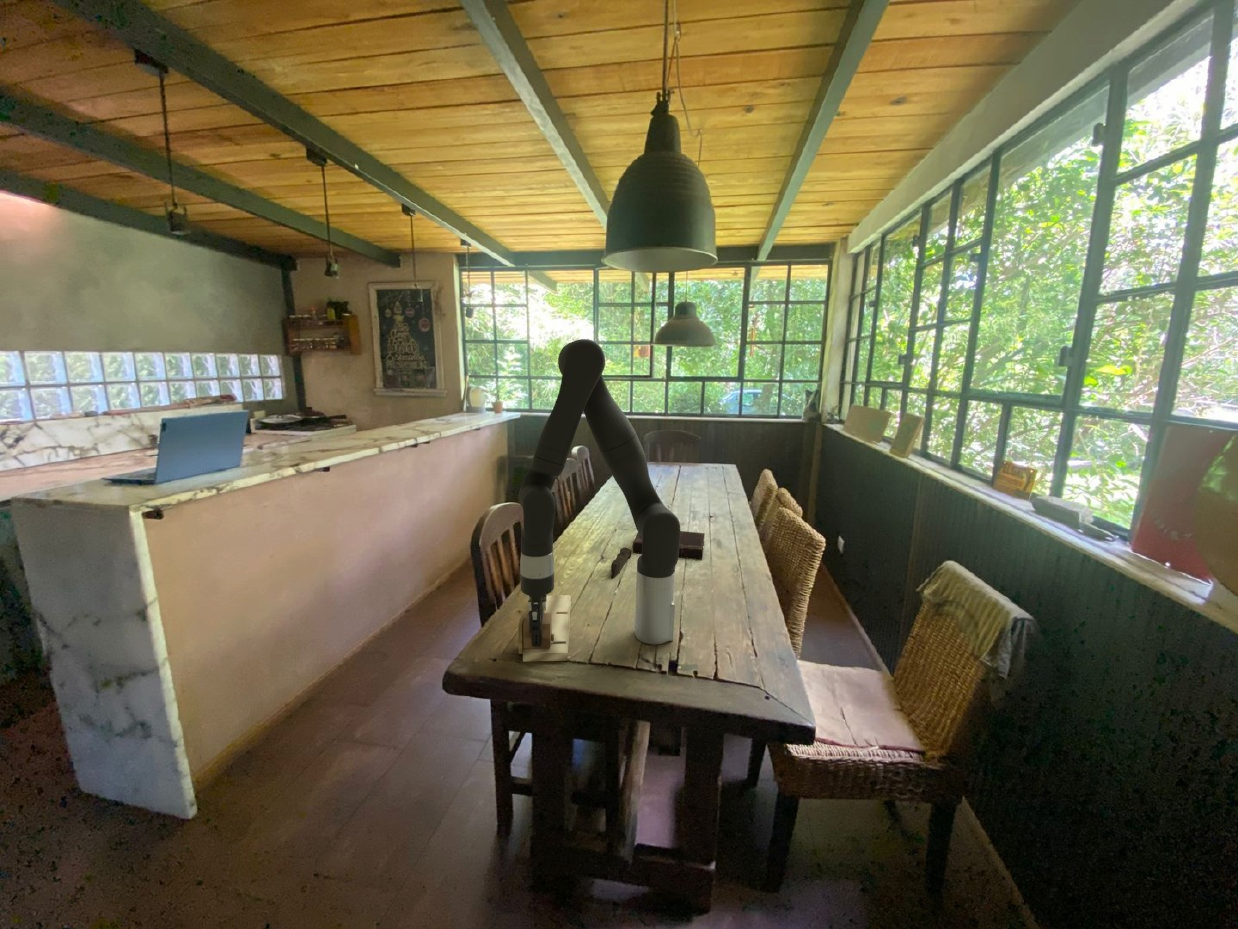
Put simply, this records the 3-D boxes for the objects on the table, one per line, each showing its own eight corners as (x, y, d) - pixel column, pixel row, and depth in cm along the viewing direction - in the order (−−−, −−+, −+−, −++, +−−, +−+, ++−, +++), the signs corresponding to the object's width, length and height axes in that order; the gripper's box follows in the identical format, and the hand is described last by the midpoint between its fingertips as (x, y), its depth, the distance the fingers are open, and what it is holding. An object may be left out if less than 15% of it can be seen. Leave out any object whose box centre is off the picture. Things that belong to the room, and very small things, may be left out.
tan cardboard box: (554, 641, 114) (554, 612, 113) (553, 653, 109) (553, 623, 108) (521, 641, 113) (521, 613, 112) (518, 653, 109) (518, 624, 107)
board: (570, 601, 136) (570, 594, 135) (567, 660, 108) (567, 651, 108) (535, 602, 135) (535, 595, 134) (522, 661, 107) (522, 652, 107)
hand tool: (620, 557, 170) (620, 544, 169) (631, 558, 169) (631, 545, 168) (604, 578, 152) (604, 564, 151) (616, 580, 151) (616, 566, 150)
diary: (702, 562, 168) (702, 548, 167) (632, 555, 173) (632, 542, 172) (704, 543, 186) (705, 531, 185) (641, 537, 191) (641, 525, 190)
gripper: (552, 584, 101) (552, 656, 104) (555, 557, 115) (555, 622, 118) (516, 584, 100) (517, 657, 104) (524, 558, 114) (525, 623, 118)
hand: (537, 638), depth 111 cm, fingers closed on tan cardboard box, 5 cm apart
